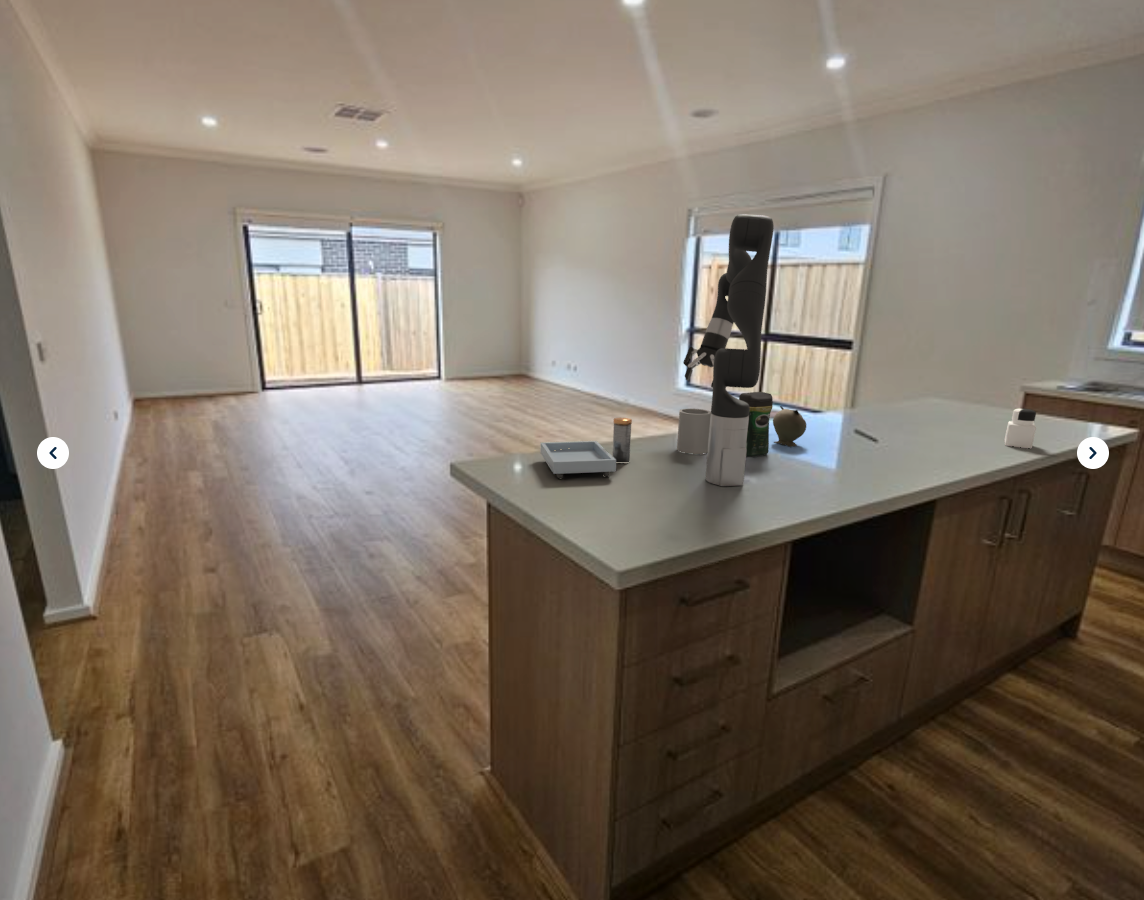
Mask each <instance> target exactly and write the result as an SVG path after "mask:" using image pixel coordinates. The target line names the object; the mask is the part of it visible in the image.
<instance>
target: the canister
mask: <svg viewBox="0 0 1144 900" xmlns="http://www.w3.org/2000/svg"><path fill="white" fill-rule="evenodd" d="M632 423H633V420H632V418H629V417H615V418H613V434H612V438H613V439H612V456H613V457H614V458H615V459H616V462H629V461H630V459H631V456H630V455H631V442H632V441H631V438H632V437H631V436H632ZM629 463H630V462H629Z"/></svg>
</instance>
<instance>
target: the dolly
mask: <svg viewBox="0 0 1144 900" xmlns="http://www.w3.org/2000/svg"><path fill="white" fill-rule="evenodd" d="M568 448H570V449H568ZM539 449H540V455H541V456H542V459H544V461H545V462H546V464H547V466H548V467H549V469H550V470H551V473H552V474H553V475H555V474H556V478H557V477H558V478H563V479H564V474H581V473H582V474H583V473H602V476H603V475H604V476H609V477H610V472H616V471H617V463H616V459H615V458H614V457H613V454H611V453H610V452H609V451H607V449H606V448H605V447H603V446H602V444H600V442H598V441H597V440H585V441H583V440H582V441H581V440H580V441H553V442H552V441H550V442H549V441H548V442H547V441H546V442H540V448H539ZM560 449H562V450H560ZM554 450H556V451H554Z"/></svg>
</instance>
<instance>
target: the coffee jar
mask: <svg viewBox="0 0 1144 900" xmlns="http://www.w3.org/2000/svg"><path fill="white" fill-rule="evenodd" d="M738 399H739V400H742V401H744V402H746V403H748V404H749V407H750V412H749V421H748V431H747V441H746V449H747V452H746V457H747V458H748V457H750V458H752V457H753V458H755V457H762V456H766V455H768V454H769V450H770V447H769V446H770V416H771V412H772V410H773V407H774V406H773V399H774V398H773V396H772V393H768V392H764V391H752V392H742V393H741V394H739V397H738Z"/></svg>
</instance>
